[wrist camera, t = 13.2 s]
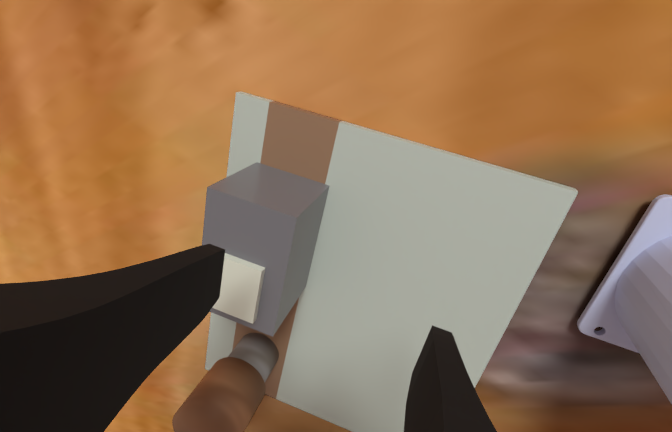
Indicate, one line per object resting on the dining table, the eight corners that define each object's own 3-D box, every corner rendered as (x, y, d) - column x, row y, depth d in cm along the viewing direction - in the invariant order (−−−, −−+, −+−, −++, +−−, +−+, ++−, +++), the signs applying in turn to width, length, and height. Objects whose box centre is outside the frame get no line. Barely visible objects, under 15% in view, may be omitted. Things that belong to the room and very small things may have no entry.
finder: (329, 185, 22) (293, 221, 17) (305, 286, 25) (269, 341, 20) (256, 162, 23) (202, 189, 18) (242, 263, 25) (191, 310, 21)
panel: (574, 188, 19) (578, 191, 18) (433, 458, 28) (433, 466, 27) (241, 91, 22) (236, 92, 21) (209, 363, 31) (204, 368, 30)
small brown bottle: (292, 348, 27) (243, 436, 21) (271, 380, 29) (219, 470, 22) (246, 318, 27) (184, 396, 21) (228, 351, 29) (164, 433, 22)
